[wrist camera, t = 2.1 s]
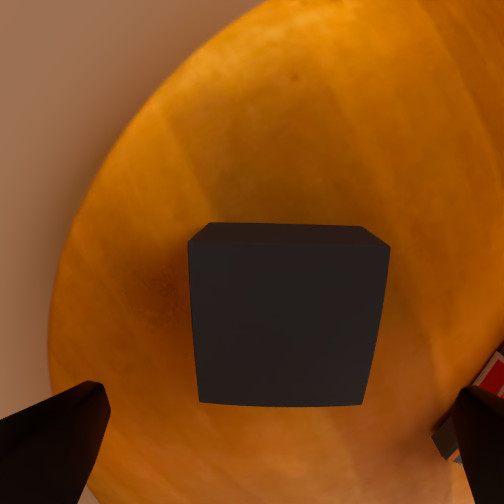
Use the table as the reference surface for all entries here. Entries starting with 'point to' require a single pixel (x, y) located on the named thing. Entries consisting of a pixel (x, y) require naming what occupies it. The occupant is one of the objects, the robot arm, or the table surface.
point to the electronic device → (491, 379)
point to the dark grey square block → (285, 312)
